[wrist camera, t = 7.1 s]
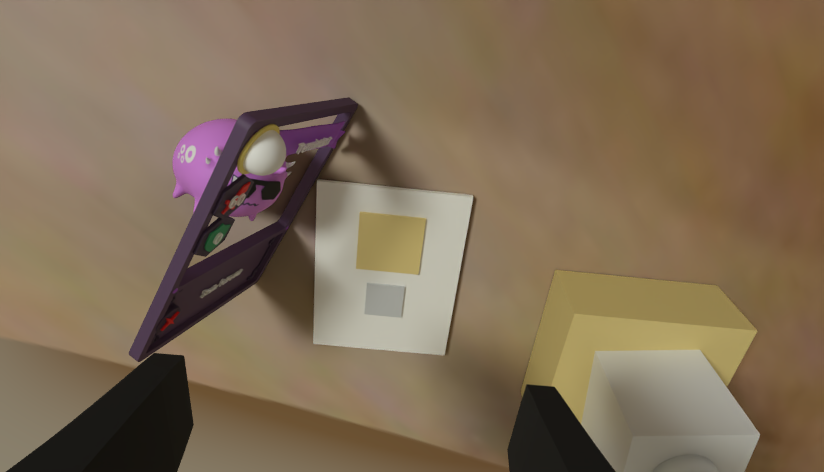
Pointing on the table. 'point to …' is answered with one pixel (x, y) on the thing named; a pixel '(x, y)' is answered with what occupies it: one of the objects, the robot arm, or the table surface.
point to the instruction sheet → (387, 265)
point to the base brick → (630, 327)
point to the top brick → (665, 414)
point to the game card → (234, 208)
